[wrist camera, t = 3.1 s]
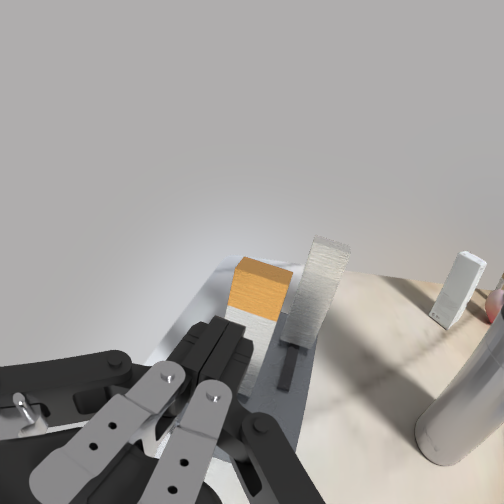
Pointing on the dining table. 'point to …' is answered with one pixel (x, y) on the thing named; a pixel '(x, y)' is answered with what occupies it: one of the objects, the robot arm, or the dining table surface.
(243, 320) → the knob orange
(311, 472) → the dining table surface
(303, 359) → the console
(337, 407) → the dining table surface
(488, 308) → the decorative fruit
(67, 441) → the robot arm
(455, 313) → the skincare box
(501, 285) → the sprinkles bottle
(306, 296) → the grey upright block
